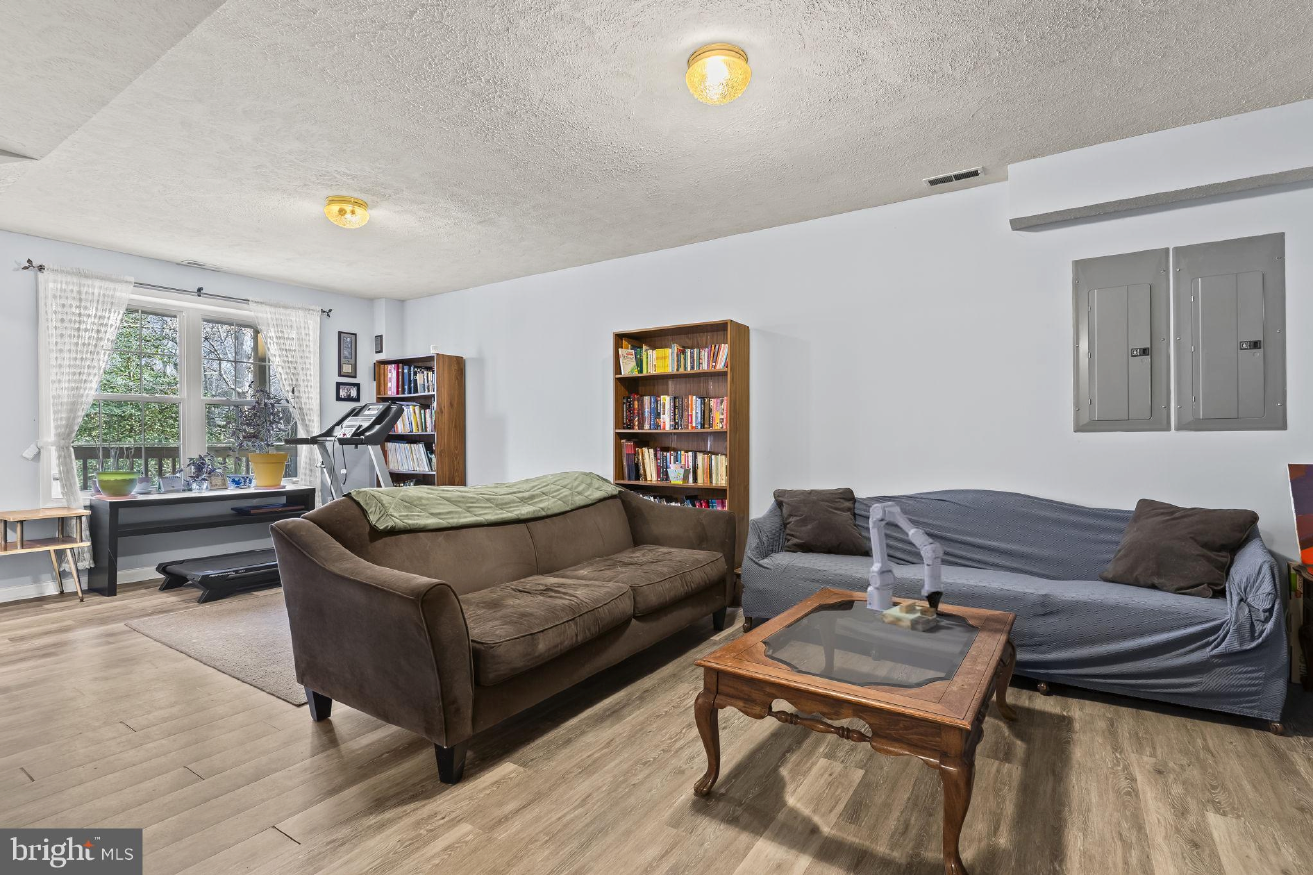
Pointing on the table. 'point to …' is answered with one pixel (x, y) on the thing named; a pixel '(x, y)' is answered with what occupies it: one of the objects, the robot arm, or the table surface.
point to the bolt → (928, 611)
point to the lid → (906, 611)
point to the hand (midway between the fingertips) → (933, 610)
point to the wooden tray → (911, 622)
